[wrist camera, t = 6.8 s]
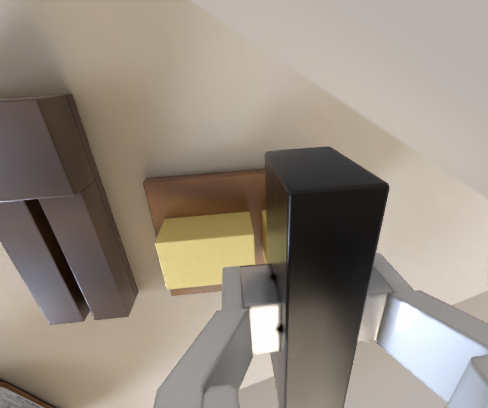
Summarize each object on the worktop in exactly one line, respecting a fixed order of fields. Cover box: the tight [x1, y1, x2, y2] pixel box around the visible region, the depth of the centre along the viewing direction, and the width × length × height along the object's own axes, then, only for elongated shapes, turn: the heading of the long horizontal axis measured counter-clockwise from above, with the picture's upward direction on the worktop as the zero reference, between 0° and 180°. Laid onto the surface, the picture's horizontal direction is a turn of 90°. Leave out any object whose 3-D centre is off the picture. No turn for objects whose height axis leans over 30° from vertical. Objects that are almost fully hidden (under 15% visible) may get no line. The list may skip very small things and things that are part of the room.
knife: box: [265, 147, 389, 408], centre depth 11 cm, size 16×2×6 cm, turn 3°
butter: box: [155, 211, 255, 289], centre depth 21 cm, size 4×7×4 cm, turn 93°
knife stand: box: [0, 94, 138, 325], centre depth 20 cm, size 18×7×4 cm, turn 3°
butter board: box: [143, 169, 266, 296], centre depth 23 cm, size 12×14×1 cm
